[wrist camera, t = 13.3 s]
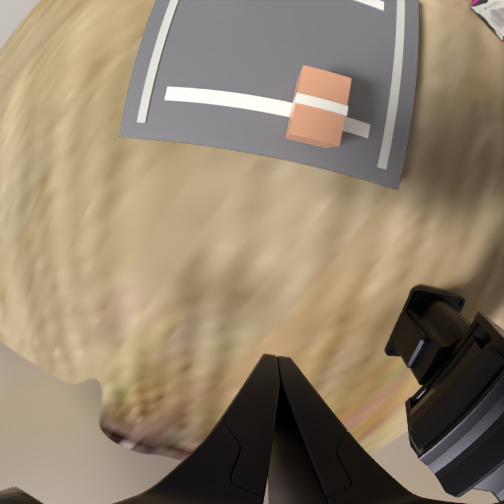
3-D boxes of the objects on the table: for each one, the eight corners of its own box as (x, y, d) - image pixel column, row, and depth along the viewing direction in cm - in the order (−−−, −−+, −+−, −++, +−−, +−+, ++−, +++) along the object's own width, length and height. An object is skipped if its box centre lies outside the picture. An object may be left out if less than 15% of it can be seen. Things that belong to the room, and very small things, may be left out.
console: (407, 5, 13) (418, -5, 11) (386, 186, 18) (398, 190, 16) (184, -37, 12) (177, -50, 10) (132, 138, 18) (118, 136, 16)
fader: (337, 92, 14) (353, 78, 11) (326, 148, 15) (340, 146, 12) (295, 81, 14) (302, 64, 11) (284, 138, 15) (288, 133, 12)
